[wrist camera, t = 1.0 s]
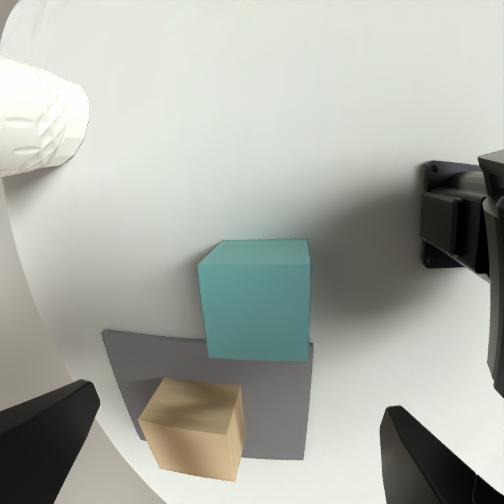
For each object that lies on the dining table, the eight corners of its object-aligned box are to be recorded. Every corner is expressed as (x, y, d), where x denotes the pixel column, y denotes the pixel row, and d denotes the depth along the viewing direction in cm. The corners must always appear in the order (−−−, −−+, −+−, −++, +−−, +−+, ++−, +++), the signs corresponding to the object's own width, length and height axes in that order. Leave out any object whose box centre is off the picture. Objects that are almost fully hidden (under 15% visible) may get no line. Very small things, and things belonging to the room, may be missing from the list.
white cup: (28, 98, 17) (-63, 90, 8) (95, 59, 16) (-7, 22, 6) (33, 184, 19) (-65, 204, 10) (102, 157, 18) (-18, 164, 8)
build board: (312, 343, 19) (313, 347, 19) (303, 456, 22) (303, 460, 22) (104, 329, 21) (101, 332, 21) (142, 436, 25) (140, 439, 24)
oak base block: (240, 385, 20) (226, 434, 15) (245, 435, 22) (235, 481, 17) (164, 377, 21) (137, 419, 16) (178, 427, 23) (159, 468, 18)
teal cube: (306, 238, 17) (310, 264, 13) (306, 315, 19) (307, 360, 14) (222, 240, 18) (197, 264, 13) (229, 314, 19) (208, 357, 15)
